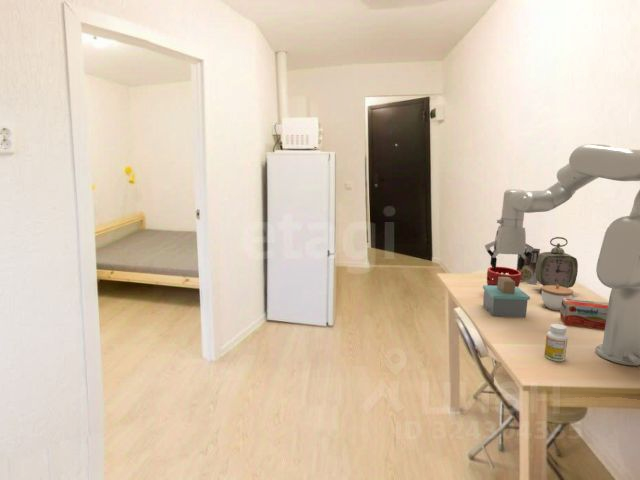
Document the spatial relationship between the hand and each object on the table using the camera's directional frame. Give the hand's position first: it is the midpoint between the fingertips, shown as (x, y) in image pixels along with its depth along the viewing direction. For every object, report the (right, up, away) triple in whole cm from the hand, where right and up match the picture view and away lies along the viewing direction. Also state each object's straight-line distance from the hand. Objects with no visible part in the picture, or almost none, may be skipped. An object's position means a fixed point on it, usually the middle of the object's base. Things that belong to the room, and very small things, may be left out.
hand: (506, 267), depth 160 cm
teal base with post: (0, -11, +2) cm, 11 cm away
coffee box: (+29, -10, +45) cm, 54 cm away
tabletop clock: (+32, -13, +28) cm, 44 cm away
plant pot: (+7, -14, +20) cm, 25 cm away
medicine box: (+24, -20, -9) cm, 33 cm away
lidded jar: (+23, -17, +8) cm, 29 cm away
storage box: (0, -17, +3) cm, 17 cm away
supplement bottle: (-2, -24, -36) cm, 43 cm away
